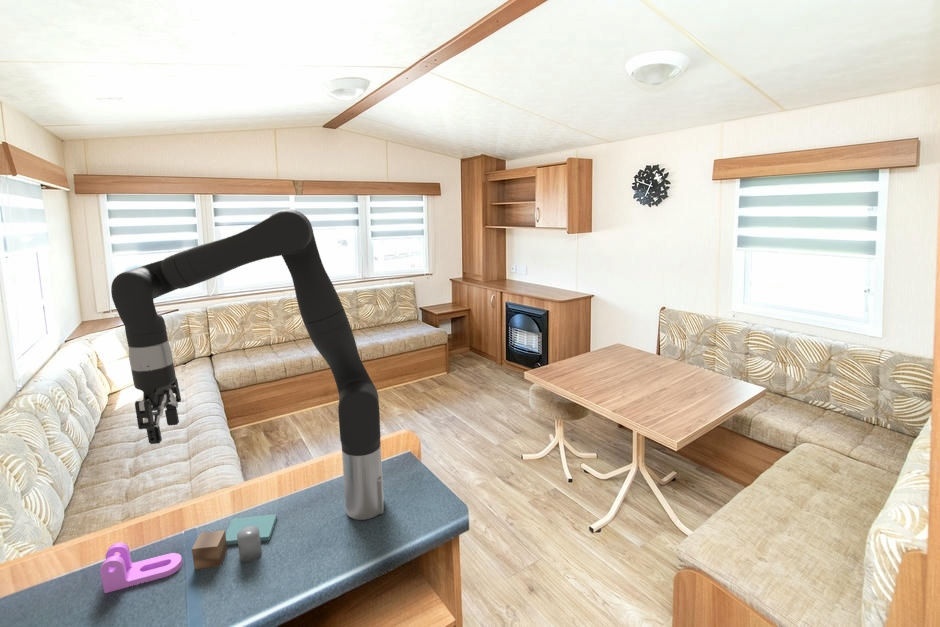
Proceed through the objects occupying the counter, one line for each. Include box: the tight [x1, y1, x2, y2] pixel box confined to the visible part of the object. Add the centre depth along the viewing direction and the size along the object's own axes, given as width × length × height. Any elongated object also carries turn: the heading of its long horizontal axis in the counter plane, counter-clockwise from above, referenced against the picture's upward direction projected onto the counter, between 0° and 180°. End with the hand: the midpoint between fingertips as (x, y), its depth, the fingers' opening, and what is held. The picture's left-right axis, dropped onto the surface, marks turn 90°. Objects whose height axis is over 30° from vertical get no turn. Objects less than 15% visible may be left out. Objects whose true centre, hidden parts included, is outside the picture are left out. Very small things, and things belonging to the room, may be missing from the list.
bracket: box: [99, 542, 183, 594], centre depth 99 cm, size 13×6×7 cm, turn 114°
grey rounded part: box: [237, 526, 263, 563], centre depth 105 cm, size 4×4×6 cm
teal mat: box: [225, 513, 278, 546], centre depth 112 cm, size 10×8×1 cm
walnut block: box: [191, 530, 228, 570], centre depth 103 cm, size 5×5×5 cm
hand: (165, 433), depth 105 cm, fingers open, 8 cm apart
